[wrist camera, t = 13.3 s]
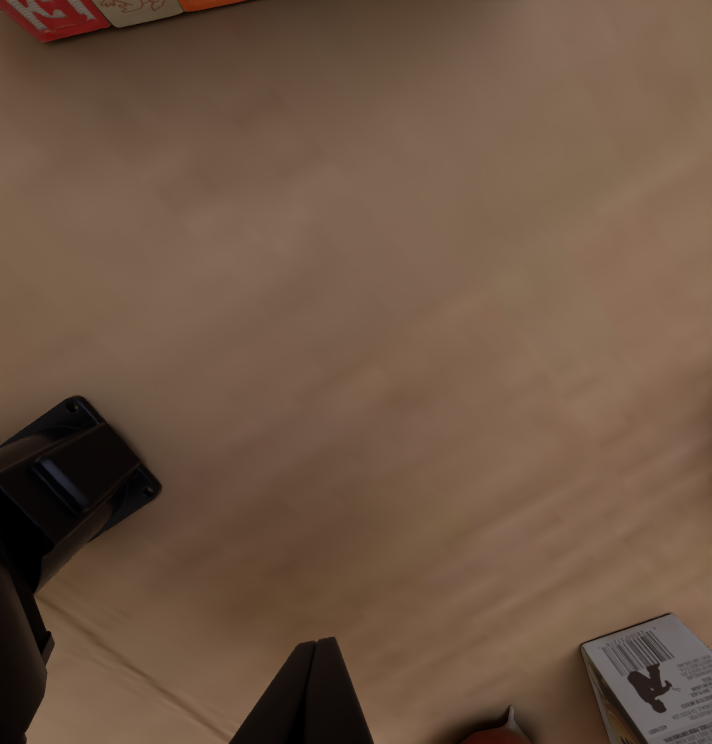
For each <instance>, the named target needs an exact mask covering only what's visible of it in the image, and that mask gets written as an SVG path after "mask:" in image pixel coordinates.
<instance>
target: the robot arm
mask: <svg viewBox="0 0 712 744" xmlns="http://www.w3.org/2000/svg"><path fill="white" fill-rule="evenodd" d="M73 403H75V404H76V405H77V407H78V410H76V409H75V408H74V407H73ZM147 487H149V488H151V489H152V491H153V492H149V491H148V490H147ZM160 491H161V485H160V484H159V482H158V481H157V480H156V479H155V478H154V477H153V475H152V474H151V473H150V472H149V471H148V470H147V469H146V468H145V466H144V465H143V464H142V463H141V462H140V460H139V459H138V457H137V456H136V455H135V454H134V453H133V452H132V451H131V450H130V448H129V447H128V446H127V445H126V444H125V443H124V442H123V440H122V439H121V438H120V437H119V436H118V435H117V434H116V433H115V431H114V430H113V429H112V428H111V427H110V426H109V425H108V424H107V423H106V422H105V421H104V420H103V419H102V418H101V417H100V415H99V414H98V413H97V412H96V411H95V410H94V409H93V407H92V406H91V405H90V404H89V403H88V402H87V401H86V400H85V399H84V398H83V397H81V396H72V397H70V398H67V399H65V400H64V401H62V402H61V403H59V404H58V405H57V406H55V407H54V408H52V409H51V410H50V411H48V412H47V413H45V414H44V415H43V416H41V417H40V418H38V419H37V420H35V421H34V422H33V423H31V424H30V425H28V426H27V427H26V428H24V429H23V430H21V431H20V432H19V433H17V434H16V435H14V436H13V437H11V438H10V439H9V440H7V441H6V442H4V443H3V444H2V445H0V744H26V741H27V738H26V735H25V732H26V730H27V729H28V727H29V725H30V723H31V721H32V719H33V717H34V715H35V713H36V711H37V709H38V707H39V705H40V703H41V701H42V699H43V697H44V694H45V687H46V680H47V670H46V667H45V666H46V664H47V662H48V659H49V657H50V655H51V652H52V650H53V648H54V645H55V642H54V640H53V637H52V634H51V632H50V631H46V628H45V626H44V623H43V620H42V618H41V615H40V612H39V609H38V607H37V604H36V601H35V599H34V595H35V594H36V593H37V592H38V591H39V590H40V589H41V588H42V587H43V586H44V585H45V584H46V583H47V582H48V581H49V580H50V579H51V578H52V577H53V576H54V575H55V574H56V573H57V572H58V571H59V570H60V569H61V568H62V567H63V566H64V565H65V564H66V563H67V562H68V561H69V560H70V559H71V558H72V557H73V556H74V555H75V554H76V553H77V552H78V551H79V550H80V549H81V548H82V547H83V546H84V545H85V544H87V543H88V542H90V541H91V540H93V539H94V538H96V537H97V536H99V535H100V534H102V533H103V532H105V531H106V530H108V529H109V528H111V527H112V526H114V525H115V524H117V523H119V522H120V521H122V520H123V519H125V518H126V517H128V516H129V515H131V514H132V513H134V512H135V511H137V510H138V509H140V508H141V507H143V506H144V505H146V504H147V503H149V502H150V501H152V500H153V499H154V498H155V497H156V496H157V495H158V494H159V493H160ZM229 744H374V742H373V739H372V736H371V734H370V731H369V728H368V725H367V723H366V720H365V717H364V714H363V712H362V709H361V706H360V703H359V701H358V698H357V695H356V693H355V690H354V687H353V684H352V682H351V679H350V676H349V673H348V671H347V668H346V665H345V662H344V660H343V657H342V654H341V651H340V649H339V646H338V643H337V640H336V638H335V637H328V638H323V639H319V640H318V641H317V642H316V641H309V642H304V643H300V644H298V645H297V646H296V647H295V649H294V650H293V652H292V653H291V655H290V656H289V657H288V659H287V660H286V662H285V663H284V665H283V666H282V668H281V669H280V670H279V672H278V673H277V675H276V676H275V678H274V679H273V680H272V682H271V683H270V685H269V686H268V688H267V689H266V691H265V692H264V693H263V695H262V696H261V698H260V699H259V701H258V702H257V704H256V705H255V706H254V708H253V709H252V711H251V712H250V714H249V715H248V716H247V718H246V719H245V721H244V722H243V724H242V725H241V727H240V728H239V729H238V731H237V732H236V734H235V735H234V737H233V738H232V739H231V741H230V742H229Z"/></svg>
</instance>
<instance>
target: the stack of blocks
mask: <svg viewBox="0 0 712 744" xmlns="http://www.w3.org/2000/svg"><path fill="white" fill-rule="evenodd" d="M240 1H245V0H0V9H1V10H2V11H4V12H5V13H6V14H7V15H8V16H9V17H10V18H12V19H13V20H14V21H15V22H16V23H17V24H19V25H20V26H21V27H22V28H23V29H25V30H26V31H27V32H28V33H30V34H31V35H32V36H33V37H35V38H36V39H37V40H39V41H40V42H41V43H43V42H49V41H53V40H56V39H60V38H65V37H69V36H73V35H77V34H81V33H85V32H90V31H95V30H98V29H100V28H108V27H109V26H110V25H114V26H115V27H118V28H120V27H125V26H129V25H134V24H139V23H144V22H148V21H153V20H157V19H161V18H166V17H171V16H174V15H177V14H180V13H182V12H183V11H186V12H192V11H198V10H203V9H207V8H212V7H217V6H222V5H227V4H232V3H236V2H240Z"/></svg>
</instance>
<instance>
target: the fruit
mask: <svg viewBox="0 0 712 744" xmlns="http://www.w3.org/2000/svg"><path fill="white" fill-rule="evenodd" d="M459 744H533V743H532V742H531V741H530V740H529V739H528V738H527V736H526V735H525V734H524V733H523V731H522V730H521V729H520V728H519V726H518V725H517V724H516V722H515V720H514V708H512V706H510V712H509V717H508V721H507V723H506V724H505V725H503V726H502V727H500V728H494V729H490V730H484V731H478V732H475V733H473V734H471V735H470V736H469V737H468V738H467V739H465V740H464V741H462V742H461V743H459Z"/></svg>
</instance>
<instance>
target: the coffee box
mask: <svg viewBox="0 0 712 744" xmlns="http://www.w3.org/2000/svg"><path fill="white" fill-rule="evenodd" d="M581 652H582V655H583V659H584V662H585V665H586V668H587V671H588V674H589V677H590V681H591V684H592V687H593V690H594V693H595V696H596V699H597V702H598V706H599V709H600V712H601V715H602V718H603V721H604V725H605V728H606V731H607V734H608V737H609V740H610V744H712V651H711V650H710V649H709V648H708V647H707V646H706V645H705V644H704V643H703V642H702V641H701V640H700V639H699V638H698V637H697V636H696V635H695V634H694V633H693V632H691V631H690V630H689V629H688V628H687V627H686V626H685V625H684V624H683V623H682V622H681V621H680V620H679V619H678V618H677V617H676V616H675V615H673V614H670V615H667V616H664V617H661V618H658V619H655V620H652V621H649V622H646V623H644V624H641V625H638V626H635V627H632V628H629V629H626V630H623V631H620V632H617V633H614V634H611V635H608V636H605V637H603V638H600V639H597V640H593V641H590V642H587V643H585V644H583V645H582V646H581Z"/></svg>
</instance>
